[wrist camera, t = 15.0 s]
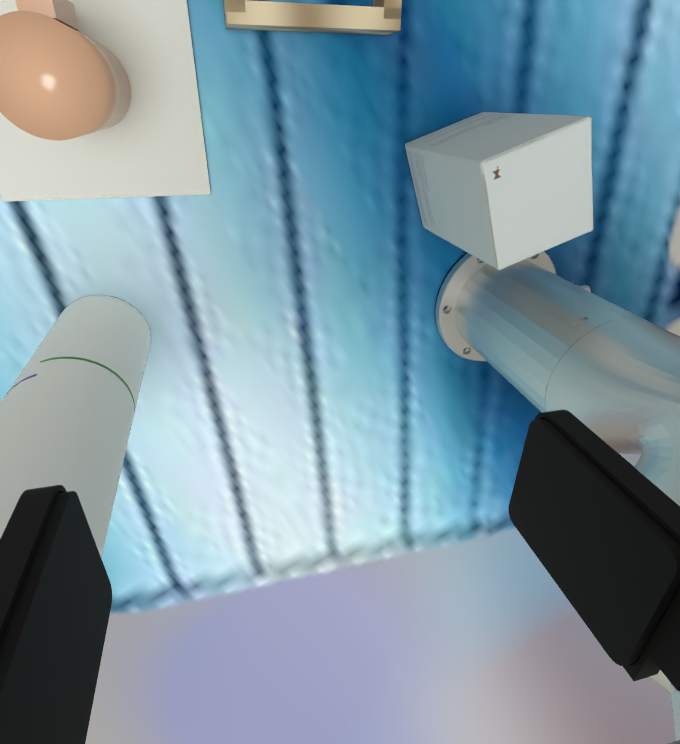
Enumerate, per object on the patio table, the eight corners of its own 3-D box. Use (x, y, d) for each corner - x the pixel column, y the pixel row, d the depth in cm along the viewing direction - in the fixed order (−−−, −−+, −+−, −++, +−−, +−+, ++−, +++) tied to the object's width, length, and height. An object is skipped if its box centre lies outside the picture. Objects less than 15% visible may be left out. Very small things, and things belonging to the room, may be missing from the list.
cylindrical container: (36, 322, 38) (-180, 604, 17) (112, 279, 37) (-7, 509, 16) (98, 386, 42) (-14, 680, 21) (168, 347, 41) (128, 604, 20)
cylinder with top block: (116, 14, 29) (80, -21, 21) (138, 129, 32) (114, 139, 24) (24, 10, 28) (-54, -28, 20) (55, 130, 31) (0, 141, 23)
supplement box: (421, 230, 42) (494, 274, 31) (402, 141, 38) (479, 158, 27) (497, 199, 42) (596, 233, 31) (486, 108, 38) (595, 112, 27)
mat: (180, -47, 29) (180, -49, 29) (210, 193, 36) (210, 194, 36) (-82, -65, 26) (-88, -68, 26) (6, 199, 33) (3, 201, 33)
